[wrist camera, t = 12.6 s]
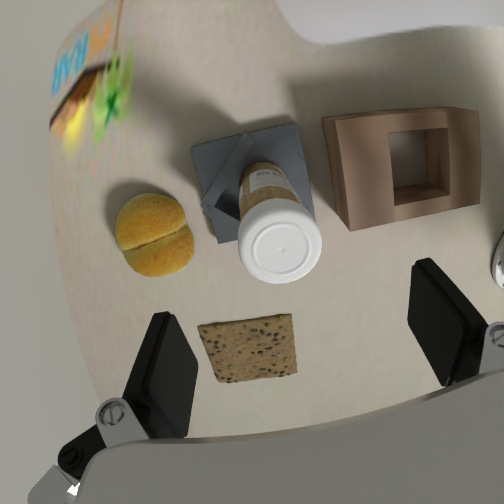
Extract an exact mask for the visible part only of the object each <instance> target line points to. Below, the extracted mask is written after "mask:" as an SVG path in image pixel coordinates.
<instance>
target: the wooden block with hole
mask: <svg viewBox="0 0 504 504" xmlns="http://www.w3.org/2000/svg"><path fill="white" fill-rule="evenodd" d="M322 123H323V129H324V134H325V139H326V145H327V151H328V157H329V163H330V169H331V175H332V182H333V189H334V196H335V204H336V211H337V215H338V216H339V218H340V219H341V220H342V221H343V223H344V224H345V225H346V227H347V228H348V229H349V231H350V232H351V231H356V230H360V229H365V228H369V227H374V226H379V225H383V224H388V223H392V222H397V221H402V220H406V219H411V218H415V217H420V216H425V215H429V214H434V213H438V212H443V211H447V210H452V209H457V208H461V207H466V206H470V205H475V204H479V203H480V185H481V149H480V129H479V116H478V111H475V110H468V109H461V108H454V107H441V108H414V109H398V110H386V111H375V112H365V113H356V114H348V115H340V116H333V117H326V118H322ZM422 129H424V132H425V143H426V156H427V175H428V183H423V184H417V185H411V186H406V187H400V188H395V189H393V179H392V167H391V156H390V147H389V139H388V133H391V132H400V131H411V130H422Z"/></svg>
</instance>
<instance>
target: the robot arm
mask: <svg viewBox="0 0 504 504" xmlns="http://www.w3.org/2000/svg"><path fill="white" fill-rule="evenodd" d="M492 275H493V279H494V281H495V283H496V284H497V285H498V286H499V287H501V288H503V289H504V234H503V236H502V238H501V240H500V242H499V244H498V246H497V249H496V252H495V255H494V259H493V266H492ZM407 320H408V325H409V327H410V329H411V330H412V332H413V334H414V336H415V337H416V339H417V341H418V343H419V345H420V346H421V348H422V350H423V352H424V354H425V356H426V357H427V359H428V361H429V363H430V365H431V367H432V369H433V371H434V373H435V374H436V376H437V378H438V380H439V382H440V384H441V386H443V387H444V386H445V388H442V389H440V390H437V391H434V392H432V393H429V394H426V395H423V396H420V397H418V398H415V399H412V400H409V401H406V402H403V403H400V404H396V405H393V406H390V407H387V408H383V409H380V410H376V411H372V412H369V413H365V414H361V415H357V416H353V417H349V418H345V419H341V420H336V421H331V422H327V423H322V424H317V425H311V426H306V427H300V428H294V429H287V430H281V431H273V432H265V433H257V434H247V435H236V436H222V437H203V438H184V437H186V436H187V434H188V429H189V422H190V416H191V409H192V403H193V397H194V391H195V385H196V379H197V373H198V362H197V359H196V357H195V355H194V353H193V351H192V349H191V347H190V345H189V343H188V341H187V339H186V337H185V335H184V333H183V331H182V329H181V327H180V325H179V323H178V321H177V319H176V317H175V315H174V314H170V313H169V312H168V311H166V312H160V313H155V314H154V315H153V317H152V319H151V322H150V324H149V327H148V329H147V332H146V334H145V337H144V340H143V342H142V345H141V347H140V350H139V352H138V355H137V357H136V360H135V363H134V365H133V368H132V371H131V374H130V376H129V379H128V382H127V385H126V388H125V390H124V393H123V396H122V398H111V399H109V400H106V401H105V402H104V403H102V404H101V405H100V407H99V408H98V410H97V412H96V416H95V420H96V425H94V426H93V427H91V428H90V429H88V430H87V431H85V432H84V433H82V434H81V435H79V436H78V437H76V438H75V439H73V440H72V441H70V442H69V443H67V444H66V445H65V446H63V447H62V449H61V450H60V452H59V455H58V464H59V465H58V466H55V465H53V466H52V467H51V468H50V469H49V471H48V472H47V473H46V474H45V475H44V476H43V477H42V478H41V480H40V481H39V482H38V483H37V484H36V485H35V486H34V487H33V488H32V489H31V491H30V492H29V495H28V504H504V322H494V323H492V324H490V325H488V324H487V323H486V321H485V319H484V318H483V317H482V316H481V314H480V313H479V312H478V311H477V310H476V308H475V307H474V306H473V305H472V304H471V302H470V301H469V300H468V299H467V298H466V296H465V295H464V294H463V293H462V292H461V291H460V290H459V288H458V287H457V286H456V285H455V284H454V283H453V282H452V281H451V279H450V278H449V277H448V276H447V275H446V274H445V273H444V272H443V271H442V270H441V269H440V267H439V266H438V265H437V264H436V263H435V262H434V261H433V260H432V259H431V258H425V259H421V260H417V261H416V262H415V265H413V266H412V271H411V286H410V298H409V308H408V317H407Z"/></svg>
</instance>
